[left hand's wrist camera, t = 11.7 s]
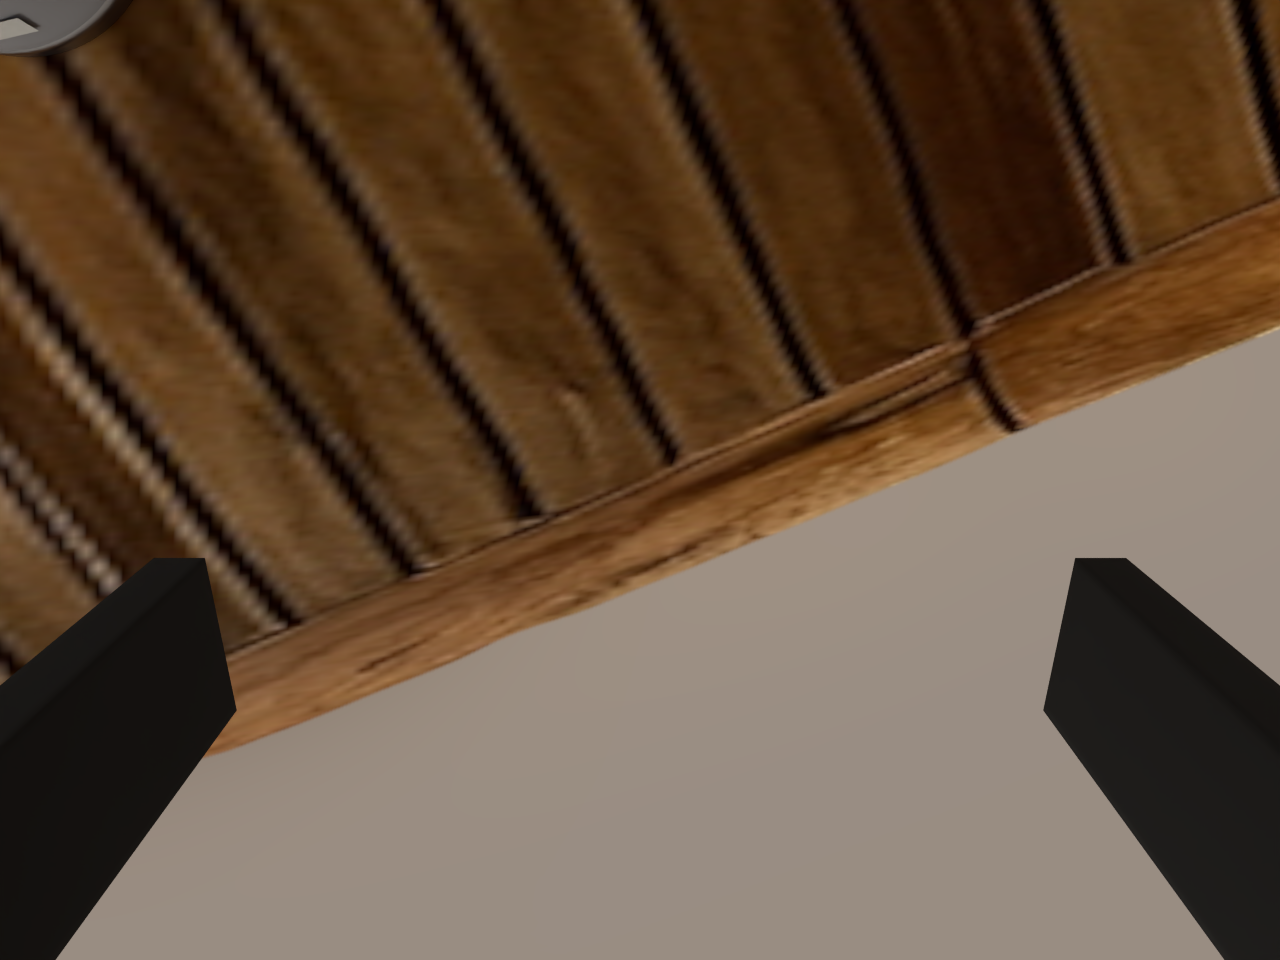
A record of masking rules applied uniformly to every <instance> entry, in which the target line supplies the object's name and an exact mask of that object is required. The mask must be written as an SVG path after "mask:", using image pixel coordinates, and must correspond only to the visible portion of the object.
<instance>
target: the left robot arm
mask: <svg viewBox="0 0 1280 960" xmlns="http://www.w3.org/2000/svg"><path fill="white" fill-rule="evenodd" d="M132 1H133V0H0V55H8V56H16V57H38V56H48V55H53V54H58V53H62V52H65V51H68V50H71V49H74V48H77V47H79V46H81V45H83V44H85V43H87V42H89V41H91V40H93V39H94V38H96V37H97V36H99V35H100V34H102V33H103V32H104V31H106V30H107V29H108V28H109V27H110V26H111V25H113V24H114V23H115V22H116V21H117V19H118V18H119V17H120V16H121V15H122V14H123V13H124V12H125V10H126V9H127V8H128V6H129V5H130V3H131V2H132ZM236 711H237V710H236V705H235V700H234V695H233V691H232V686H231V681H230V676H229V672H228V667H227V662H226V657H225V652H224V648H223V643H222V638H221V633H220V629H219V624H218V619H217V614H216V609H215V605H214V600H213V595H212V590H211V586H210V581H209V576H208V571H207V567H206V562H205V558H153V559H152V560H151V561H150V562H149V563H147V564H146V565H145V566H144V567H143V568H141V569H140V570H139V571H138V572H137V573H135V574H134V575H133V576H132V577H131V578H129V579H128V580H127V581H126V582H125V583H123V584H122V585H121V586H120V587H119V588H117V589H116V590H115V591H114V592H113V593H111V594H110V595H109V596H108V597H106V598H105V599H104V600H103V601H102V602H100V603H99V604H98V605H97V606H96V607H94V608H93V609H92V610H91V611H90V612H88V613H87V614H86V615H85V616H84V617H82V618H81V619H80V620H79V621H78V622H76V623H75V624H74V625H73V626H72V627H70V628H69V629H68V630H67V631H66V632H64V633H63V634H62V635H61V636H59V637H58V638H57V639H56V640H55V641H53V642H52V643H51V644H50V645H49V646H47V647H46V648H45V649H44V650H43V651H41V652H40V653H39V654H38V655H37V656H35V657H34V658H33V659H32V660H31V661H29V662H28V663H27V664H26V665H25V666H23V667H22V668H21V669H20V670H18V671H17V672H16V673H15V674H14V675H12V676H11V677H10V678H9V679H8V680H6V681H5V682H4V683H3V684H2V685H0V960H56V958H57V957H58V956H59V954H60V953H61V952H62V950H63V949H64V947H65V946H66V945H67V943H68V942H69V941H70V939H71V938H72V936H73V935H74V934H75V932H76V931H77V930H78V928H79V927H80V925H81V924H82V923H83V921H84V920H85V918H86V917H87V916H88V914H89V913H90V912H91V910H92V909H93V907H94V906H95V905H96V903H97V902H98V901H99V899H100V898H101V896H102V895H103V894H104V892H105V891H106V890H107V888H108V887H109V885H110V884H111V883H112V881H113V880H114V879H115V877H116V876H117V874H118V873H119V872H120V870H121V869H122V868H123V866H124V865H125V863H126V862H127V861H128V859H129V858H130V857H131V855H132V854H133V852H134V851H135V850H136V848H137V847H138V846H139V844H140V843H141V841H142V840H143V839H144V837H145V836H146V834H147V833H148V832H149V830H150V829H151V828H152V826H153V825H154V823H155V822H156V821H157V819H158V818H159V817H160V815H161V814H162V812H163V811H164V810H165V808H166V807H167V806H168V804H169V803H170V801H171V800H172V799H173V797H174V796H175V795H176V793H177V792H178V790H179V789H180V788H181V786H182V785H183V784H184V782H185V781H186V779H187V778H188V777H189V775H190V774H191V773H192V771H193V770H194V768H195V767H196V766H197V764H198V763H199V761H200V760H201V759H202V757H203V756H204V755H205V753H206V752H207V750H208V749H209V748H210V746H211V745H212V744H213V742H214V741H215V739H216V738H217V737H218V735H219V734H220V733H221V731H222V730H223V728H224V727H225V726H226V724H227V723H228V722H229V720H230V719H231V717H232V716H233V715H234V713H235V712H236ZM1044 712H1045V713H1046V715H1047V716H1048V717H1049V719H1050V720H1051V722H1052V723H1053V724H1054V726H1055V727H1056V728H1057V730H1058V731H1059V733H1060V734H1061V735H1062V737H1063V738H1064V739H1065V741H1066V742H1067V744H1068V745H1069V746H1070V748H1071V749H1072V750H1073V752H1074V753H1075V755H1076V756H1077V757H1078V759H1079V760H1080V762H1081V763H1082V764H1083V766H1084V767H1085V768H1086V770H1087V771H1088V772H1089V774H1090V775H1091V777H1092V778H1093V779H1094V781H1095V782H1096V784H1097V785H1098V786H1099V788H1100V789H1101V790H1102V792H1103V793H1104V795H1105V796H1106V797H1107V799H1108V800H1109V801H1110V803H1111V804H1112V806H1113V807H1114V808H1115V810H1116V811H1117V812H1118V814H1119V815H1120V817H1121V818H1122V819H1123V821H1124V822H1125V823H1126V825H1127V826H1128V828H1129V829H1130V830H1131V832H1132V833H1133V834H1134V836H1135V837H1136V839H1137V840H1138V841H1139V843H1140V844H1141V845H1142V847H1143V848H1144V850H1145V851H1146V852H1147V854H1148V855H1149V857H1150V858H1151V859H1152V861H1153V862H1154V863H1155V865H1156V866H1157V868H1158V869H1159V870H1160V872H1161V873H1162V874H1163V876H1164V877H1165V879H1166V880H1167V881H1168V883H1169V884H1170V885H1171V887H1172V888H1173V890H1174V891H1175V892H1176V894H1177V895H1178V896H1179V898H1180V899H1181V901H1182V902H1183V903H1184V905H1185V906H1186V907H1187V909H1188V910H1189V912H1190V913H1191V914H1192V916H1193V917H1194V918H1195V920H1196V921H1197V923H1198V924H1199V925H1200V927H1201V928H1202V930H1203V931H1204V932H1205V934H1206V935H1207V936H1208V938H1209V939H1210V941H1211V942H1212V943H1213V945H1214V946H1215V947H1216V949H1217V950H1218V952H1219V953H1220V954H1221V956H1222V957H1223V958H1224V960H1280V685H1278V684H1277V683H1276V682H1275V681H1274V680H1272V679H1271V678H1270V677H1269V676H1268V675H1266V674H1265V673H1264V672H1263V671H1261V670H1260V669H1259V668H1258V667H1257V666H1255V665H1254V664H1253V663H1252V662H1251V661H1249V660H1248V659H1247V658H1246V657H1245V656H1243V655H1242V654H1241V653H1240V652H1239V651H1237V650H1236V649H1235V648H1234V647H1233V646H1231V645H1230V644H1229V643H1228V642H1227V641H1225V640H1224V639H1223V638H1222V637H1220V636H1219V635H1218V634H1217V633H1216V632H1214V631H1213V630H1212V629H1211V628H1210V627H1208V626H1207V625H1206V624H1205V623H1204V622H1202V621H1201V620H1200V619H1199V618H1198V617H1196V616H1195V615H1194V614H1193V613H1192V612H1190V611H1189V610H1188V609H1187V608H1186V607H1184V606H1183V605H1182V604H1181V603H1180V602H1178V601H1177V600H1176V599H1175V598H1174V597H1172V596H1171V595H1170V594H1169V593H1167V592H1166V591H1165V590H1164V589H1163V588H1161V587H1160V586H1159V585H1158V584H1157V583H1155V582H1154V581H1153V580H1152V579H1151V578H1149V577H1148V576H1147V575H1146V574H1144V573H1143V572H1142V571H1141V570H1140V569H1139V568H1137V567H1136V566H1135V565H1134V564H1132V563H1131V562H1130V561H1129V560H1128V559H1127V558H1075V562H1074V567H1073V571H1072V576H1071V581H1070V586H1069V590H1068V595H1067V600H1066V605H1065V610H1064V614H1063V619H1062V624H1061V629H1060V633H1059V638H1058V643H1057V648H1056V652H1055V657H1054V662H1053V667H1052V672H1051V676H1050V681H1049V686H1048V691H1047V695H1046V700H1045V705H1044Z"/></svg>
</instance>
